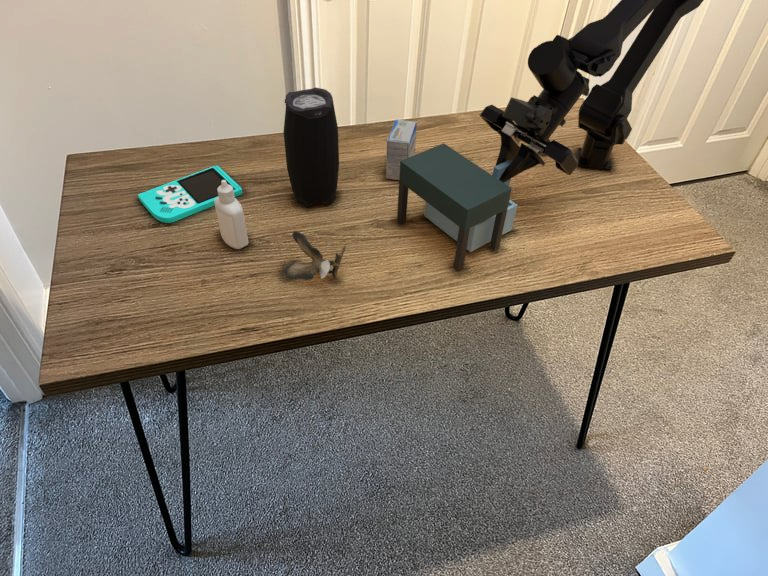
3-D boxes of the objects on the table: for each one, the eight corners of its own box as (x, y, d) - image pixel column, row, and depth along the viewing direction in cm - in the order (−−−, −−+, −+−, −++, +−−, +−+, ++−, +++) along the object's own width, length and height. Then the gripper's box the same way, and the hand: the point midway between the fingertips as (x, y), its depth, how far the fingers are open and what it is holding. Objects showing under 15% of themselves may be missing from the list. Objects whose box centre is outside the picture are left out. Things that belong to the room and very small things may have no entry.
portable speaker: (281, 199, 109) (269, 99, 96) (315, 176, 115) (309, 79, 101) (315, 217, 106) (308, 117, 92) (349, 193, 111) (347, 95, 97)
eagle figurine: (346, 251, 98) (294, 235, 98) (346, 240, 91) (290, 222, 91) (332, 295, 96) (279, 278, 96) (331, 287, 89) (273, 269, 89)
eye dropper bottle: (222, 252, 99) (210, 193, 90) (220, 231, 102) (208, 172, 94) (249, 249, 99) (239, 189, 91) (246, 228, 103) (236, 169, 95)
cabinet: (437, 202, 110) (443, 142, 101) (499, 248, 101) (512, 188, 93) (396, 221, 106) (400, 160, 97) (457, 271, 97) (467, 210, 88)
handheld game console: (138, 198, 108) (136, 192, 107) (217, 169, 116) (216, 163, 115) (162, 227, 103) (160, 220, 102) (244, 193, 110) (243, 187, 109)
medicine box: (408, 182, 114) (410, 142, 108) (385, 179, 115) (386, 139, 109) (414, 160, 120) (417, 121, 114) (393, 157, 120) (394, 118, 114)
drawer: (481, 188, 113) (488, 145, 106) (528, 221, 106) (539, 176, 100) (424, 216, 107) (428, 171, 100) (470, 252, 100) (478, 206, 93)
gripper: (495, 58, 99) (439, 137, 102) (585, 103, 89) (520, 190, 92) (519, 90, 108) (467, 162, 111) (603, 135, 98) (543, 212, 101)
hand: (496, 180), depth 103 cm, fingers closed on drawer
